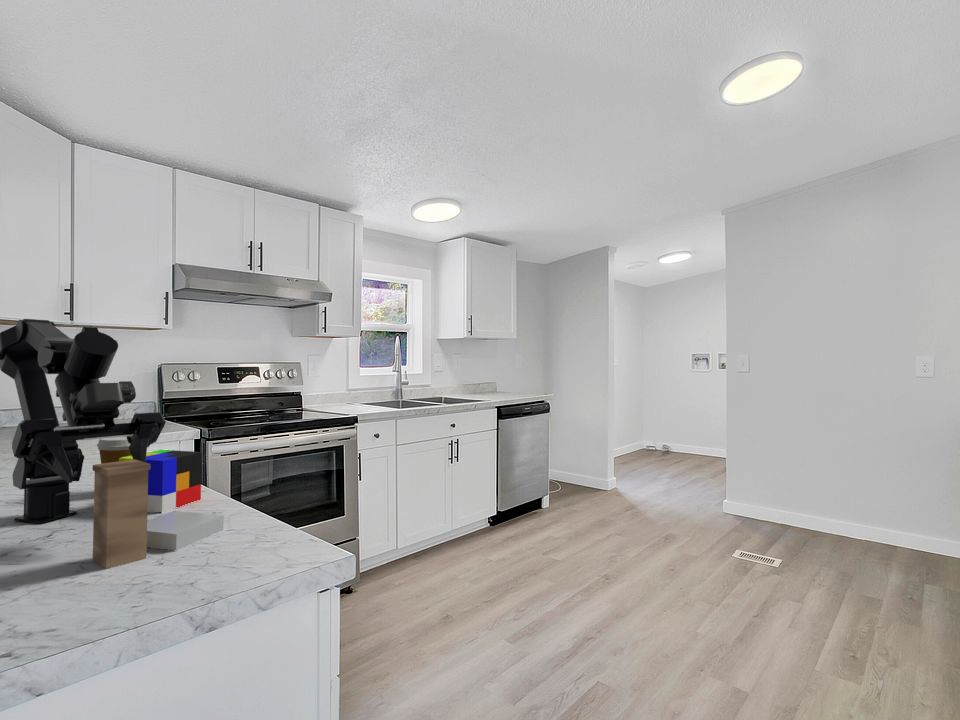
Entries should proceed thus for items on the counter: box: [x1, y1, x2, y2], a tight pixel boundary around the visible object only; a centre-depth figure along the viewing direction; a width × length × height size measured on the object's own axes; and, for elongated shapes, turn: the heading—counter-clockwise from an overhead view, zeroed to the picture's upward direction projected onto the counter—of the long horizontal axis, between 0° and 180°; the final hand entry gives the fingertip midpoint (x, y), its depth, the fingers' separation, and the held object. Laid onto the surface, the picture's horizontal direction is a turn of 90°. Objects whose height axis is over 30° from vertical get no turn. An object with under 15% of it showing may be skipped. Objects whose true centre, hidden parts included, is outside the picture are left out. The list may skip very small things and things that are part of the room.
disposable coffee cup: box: [96, 436, 132, 464], centre depth 111 cm, size 10×10×12 cm
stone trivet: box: [147, 510, 225, 551], centre depth 84 cm, size 10×10×3 cm
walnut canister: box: [92, 460, 151, 570], centre depth 74 cm, size 5×5×14 cm
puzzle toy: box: [119, 449, 203, 513], centre depth 103 cm, size 10×10×10 cm
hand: (108, 475), depth 77 cm, fingers open, 9 cm apart
